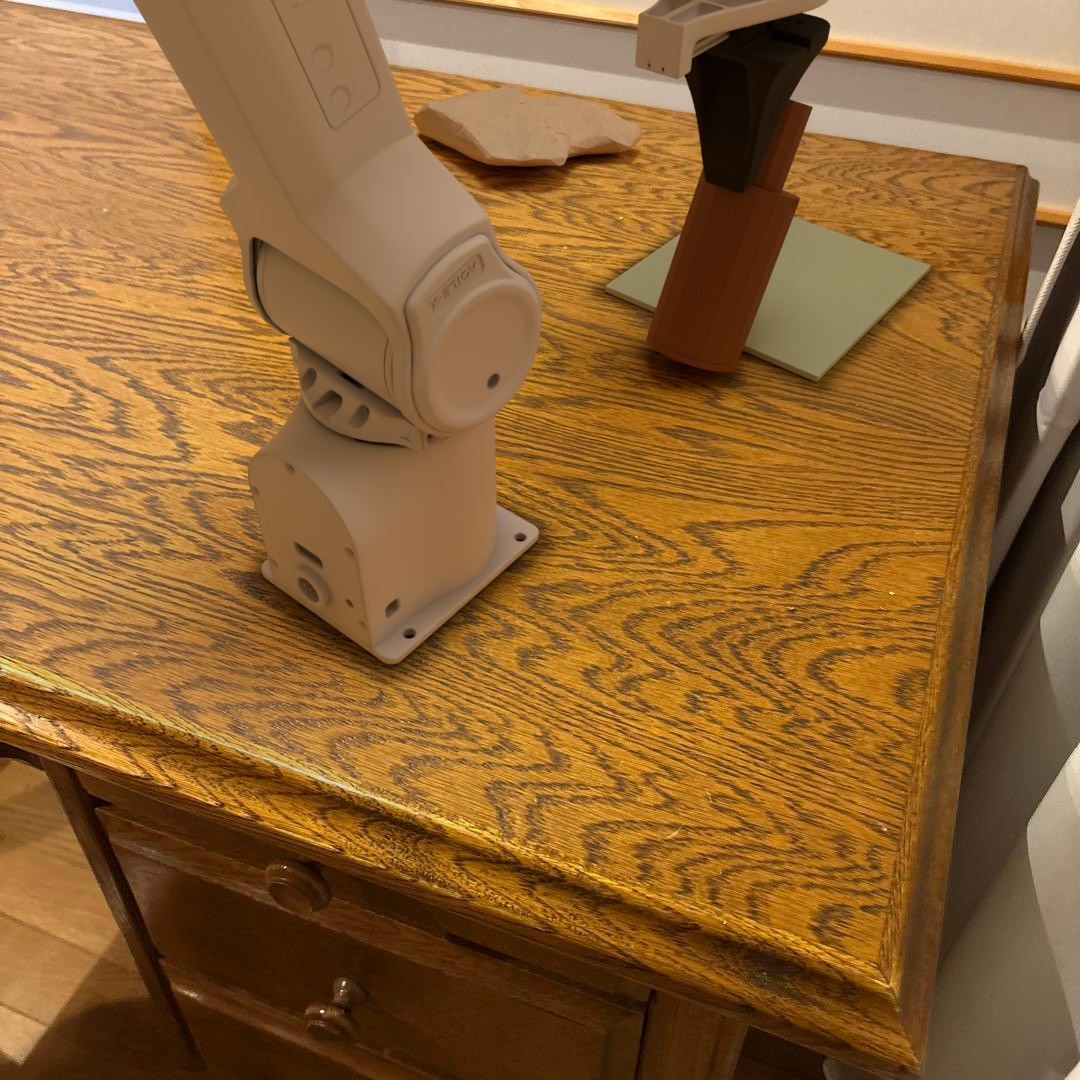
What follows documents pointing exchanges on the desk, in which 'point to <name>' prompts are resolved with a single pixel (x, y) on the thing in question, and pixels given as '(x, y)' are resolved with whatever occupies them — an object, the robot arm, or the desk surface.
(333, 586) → the robot arm
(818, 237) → the mat
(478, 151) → the stone
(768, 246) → the bottle
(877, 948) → the desk surface
